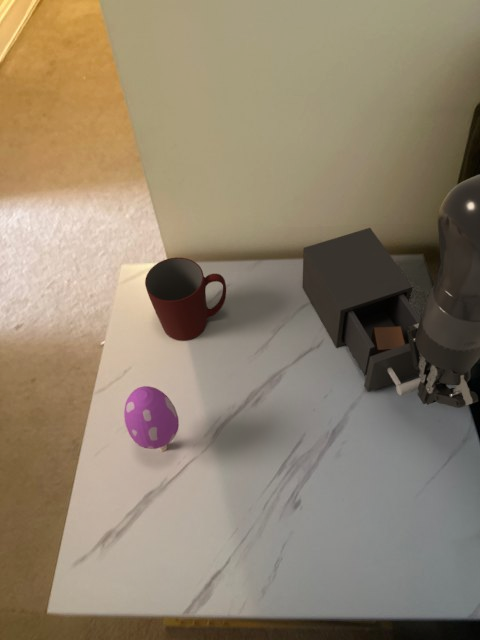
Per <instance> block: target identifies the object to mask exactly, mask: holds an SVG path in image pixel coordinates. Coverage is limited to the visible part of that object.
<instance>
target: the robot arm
mask: <svg viewBox="0 0 480 640" xmlns="http://www.w3.org/2000/svg"><path fill="white" fill-rule="evenodd" d="M437 231H438V232H437V233H438V243H439V258H440V265H439V267H438V270H437V273H436V277H435V279H434V283H433V286H432V288H431V290H430V291H429V293H428V296H427V298H426V300H425V304H424V306H423V311H422V313H421V317H420V318H421V319H420V323H418V324H415V325H412V326H409V327H407V335H408V340H409V345H410V350H411V355H412V361H413V365H414V367H415V369H416V370H417V369H419V370H420V374H418V378H420V383H419V386H418V390H417V391H418V392H417V397H418V399H419V400H420V402H421V403H422V405H426V404H427V406H428V405H432V404H434V403H438V404H442V405H445V406H449V407H452V408H456V409H461V408H464V407H466V406H470V405H472V404H475V403H477V402H479V396H478V394H477V393H476V392H475V391H471V390H470V387H469V386H468V382H469V381H470V380H471V376H472V375H471V369H472V368H473V367H474V366H475V364H476V363H478V361H479V360H480V173H479V174H476V175H475V176H472V177H469V178H467V179H465V180H463V181H461V182H460V183H458V184H456V185H455V186H454V187H453V188H451V190H449V192H448V193H447V195H446V196H445V197H444V199H443V200H442V202H441V205H440V206H439V210H438V213H437ZM419 352H420V358H419ZM449 386H455V387H449Z"/></svg>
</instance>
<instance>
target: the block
mask: <svg viewBox="0 0 480 640" xmlns="http://www.w3.org/2000/svg"><path fill="white" fill-rule="evenodd" d="M371 341H372V343H373V344H374V346H375V349H374V354H373V355H376V354H379V353H382V352H385V351H388V350H391V349H394V348H397V347H400V346H403V345H405V343H404V338H403V333H402V329H401V326H398V327H374V329H373V334H372V339H371Z"/></svg>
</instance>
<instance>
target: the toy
mask: <svg viewBox="0 0 480 640" xmlns="http://www.w3.org/2000/svg"><path fill="white" fill-rule="evenodd" d="M123 417H124V424H125V427H126V429H127V432H128V434H129V436H130V438H131V439H132V440H133V442H134V443H135V444H136V445H137V446H139V447H141V448H143V449H148V450H156V449H159V451H160V452H166V451H167V450H168V444H169V443H171V442H172V441H173V440H174V439H175V437H176V435H177V433H178V431H179V426H180V424H179V421H180V420H179V416H178V413H177V409H176V407H175V405H174V404H173V402H172V401H171V399H170V398H169V396H168V395H167V394H165V393H164V392H163V391H161V389H158V388H157V387H153V386H148V385H144V386H139V387H137V388H135V389H134V390H133V391H132V392H131V393H129V395H128V397H127V398H126V400H125V404H124V410H123Z"/></svg>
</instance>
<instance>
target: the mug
mask: <svg viewBox="0 0 480 640" xmlns="http://www.w3.org/2000/svg"><path fill="white" fill-rule="evenodd" d="M214 282H215V283H216V282H217V283H221V285H222V292H221V296H220V299H219V300H218V302H217V303H216V304H215V305H214V306H213V307H211V308H209V307H208V305H207V293H206V289H207V286H208V284H210V283H214ZM144 285H145V289H146V291H147V295H148V298H149V300H150V302H151V305H152V307H153V309H154V312H155V314H156V316H157V318H158V321H159V323H160V325H161V327H162V329H163V331H164V333H165V335H167V336H168V337H169V338H171V339H172V340H175V341H183V342H184V341H190V340H193V339H195V338H197V337H198V336H200V335H201V334H202V333H203V332H204V331H205V329H206V327H207V324H208V319H210V318H212V317H214V316H215V315H217V314H218V313H219V312H220V311H221V309H222V307H223V306H224V304H225V301H226V298H227V284H226V280H225V278H224V277H223V275H221V274H219V273H210V274H208V275H206V276H204V272H203V269H202V267H201V266H200V264H198V263H197V262H196V261H194V260H192V259H190V258H188V257H187V258H186V257H170V258H167V259H163V260H161V261H159V262H158V263H156V264H154V265H153V266H152V267H150V269H149V270H148V272H147V273H146V276H145V280H144Z"/></svg>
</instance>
